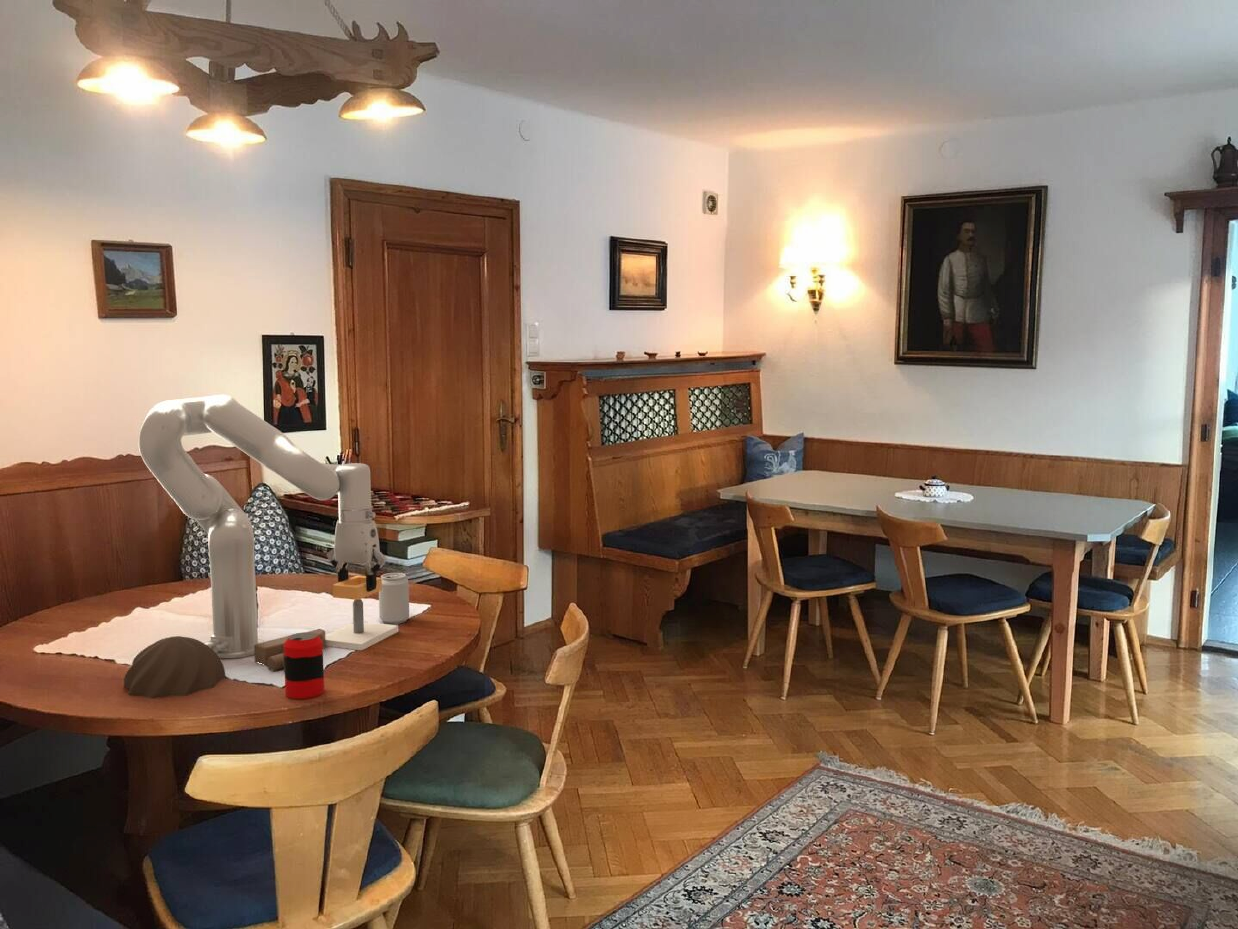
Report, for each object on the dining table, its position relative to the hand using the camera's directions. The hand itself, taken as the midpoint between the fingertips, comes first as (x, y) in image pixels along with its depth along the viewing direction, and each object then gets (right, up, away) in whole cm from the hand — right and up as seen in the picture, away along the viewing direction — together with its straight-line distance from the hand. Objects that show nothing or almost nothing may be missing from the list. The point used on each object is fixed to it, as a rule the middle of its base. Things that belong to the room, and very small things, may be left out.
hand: (357, 588), depth 245 cm
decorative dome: (-31, -17, -29) cm, 45 cm away
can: (+5, -10, +17) cm, 20 cm away
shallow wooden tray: (0, -1, 0) cm, 1 cm away
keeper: (0, -12, +2) cm, 12 cm away
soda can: (-2, -17, -36) cm, 40 cm away
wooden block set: (-7, -15, -15) cm, 23 cm away
